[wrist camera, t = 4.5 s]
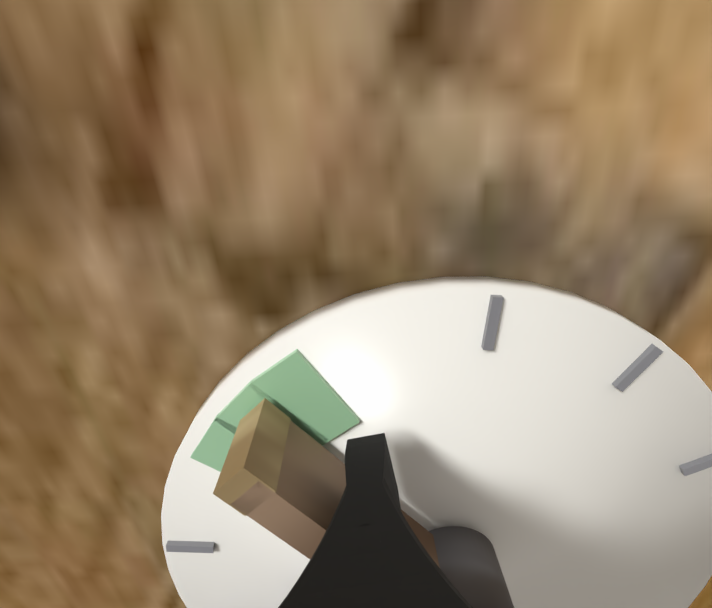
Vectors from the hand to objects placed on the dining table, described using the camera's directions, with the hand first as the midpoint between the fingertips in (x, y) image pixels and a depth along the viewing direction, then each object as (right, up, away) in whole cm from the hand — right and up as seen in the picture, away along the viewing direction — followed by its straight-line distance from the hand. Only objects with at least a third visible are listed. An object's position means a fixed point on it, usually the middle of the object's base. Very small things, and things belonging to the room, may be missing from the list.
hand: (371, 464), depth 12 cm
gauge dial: (+3, -4, +4) cm, 7 cm away
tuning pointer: (0, -2, +2) cm, 3 cm away
